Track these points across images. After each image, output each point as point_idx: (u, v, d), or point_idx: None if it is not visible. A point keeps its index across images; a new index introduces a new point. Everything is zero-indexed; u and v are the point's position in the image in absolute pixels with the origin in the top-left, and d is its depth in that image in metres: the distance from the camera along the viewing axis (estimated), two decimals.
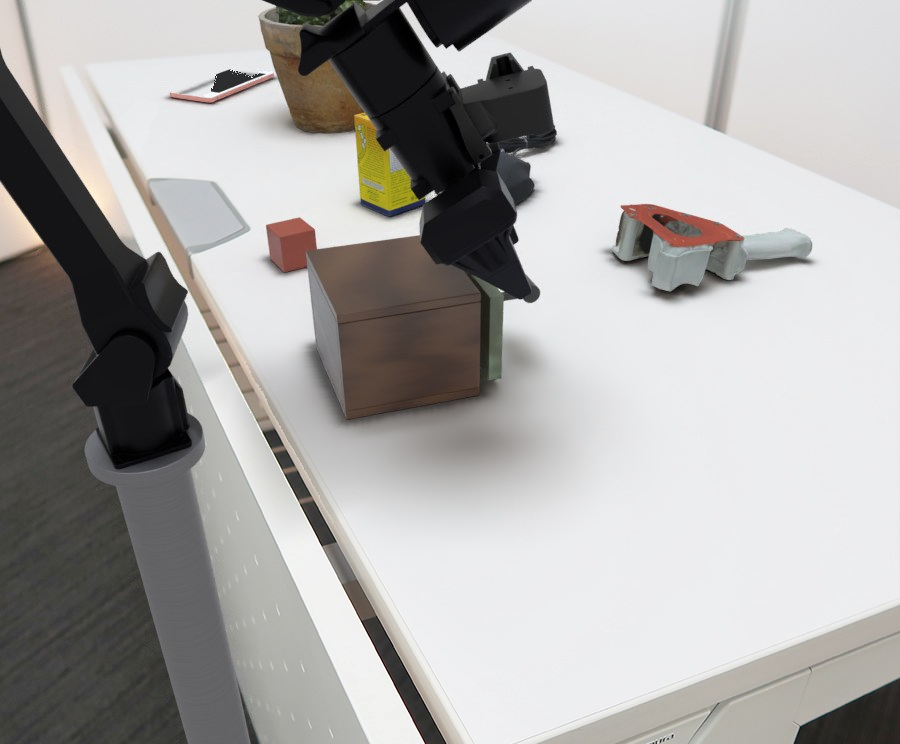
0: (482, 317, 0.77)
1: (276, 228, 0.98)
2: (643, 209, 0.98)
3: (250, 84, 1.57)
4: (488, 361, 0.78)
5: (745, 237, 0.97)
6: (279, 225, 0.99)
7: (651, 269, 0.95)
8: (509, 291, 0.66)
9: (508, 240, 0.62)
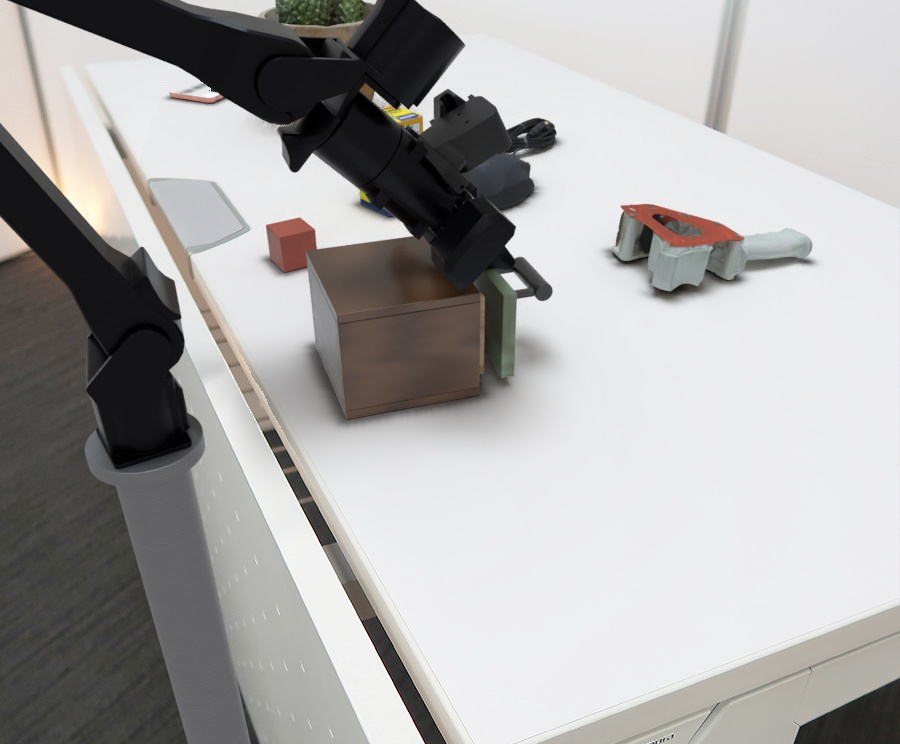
0: (495, 315, 0.77)
1: (276, 228, 0.98)
2: (643, 209, 0.98)
3: None
4: (501, 359, 0.78)
5: (745, 237, 0.97)
6: (279, 225, 0.99)
7: (651, 269, 0.95)
8: (498, 266, 0.79)
9: None
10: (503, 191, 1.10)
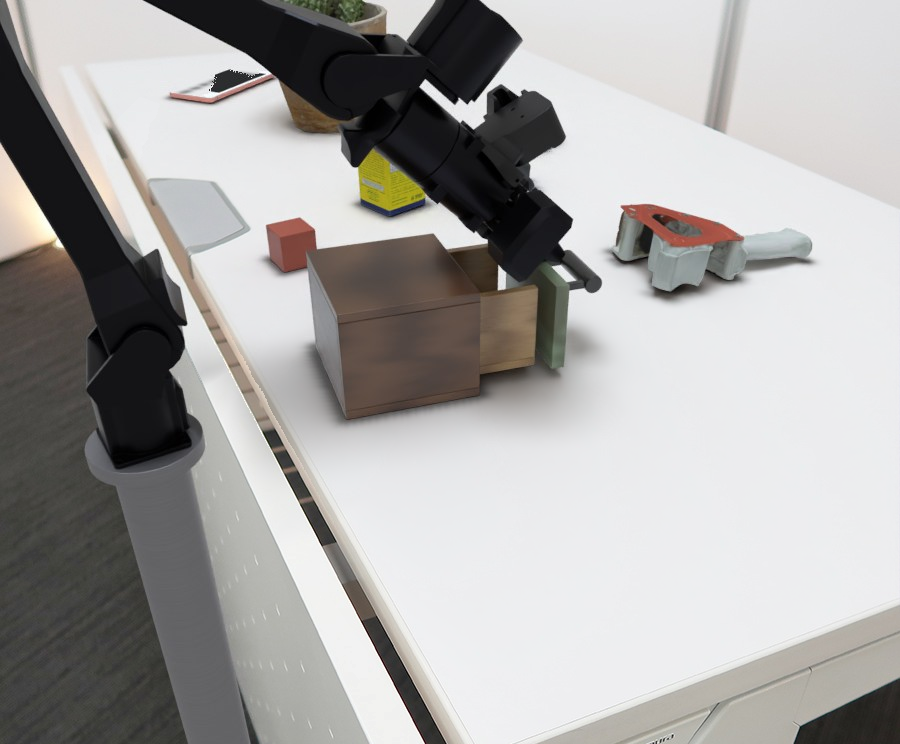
0: (546, 307, 0.79)
1: (276, 228, 0.98)
2: (643, 209, 0.98)
3: (250, 84, 1.57)
4: (552, 350, 0.79)
5: (745, 237, 0.97)
6: (279, 225, 0.99)
7: (651, 269, 0.95)
8: (549, 259, 0.80)
9: None
10: None
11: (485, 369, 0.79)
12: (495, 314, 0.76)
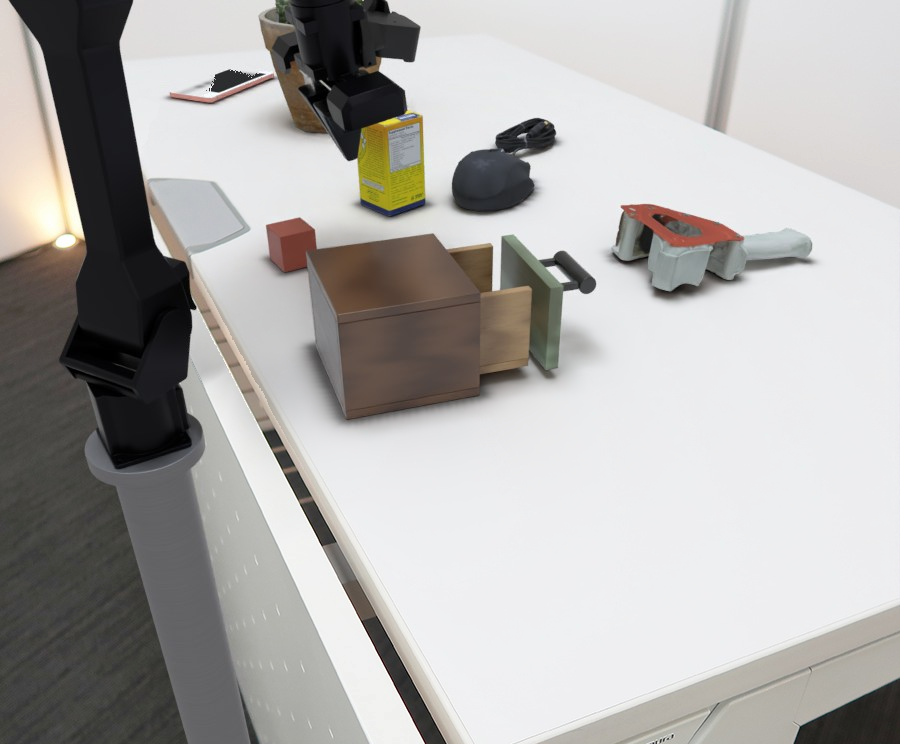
0: (540, 308, 0.78)
1: (276, 228, 0.98)
2: (643, 209, 0.98)
3: (250, 84, 1.57)
4: (546, 351, 0.79)
5: (745, 237, 0.97)
6: (279, 225, 0.99)
7: (651, 269, 0.95)
8: (345, 152, 0.91)
9: None
10: (503, 191, 1.10)
11: None
12: (489, 315, 0.76)
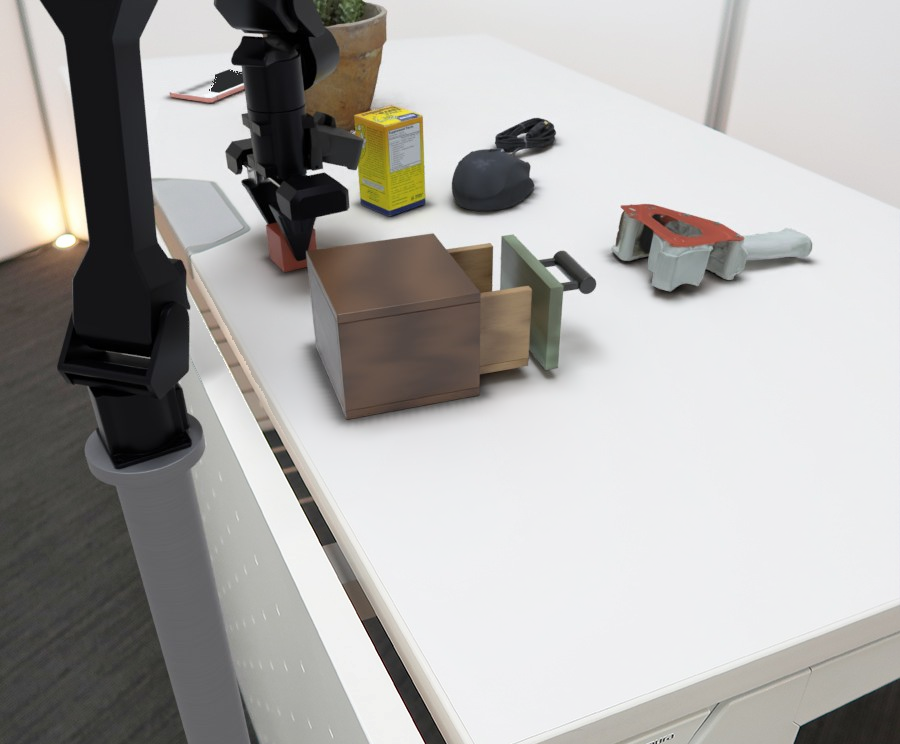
0: (540, 308, 0.78)
1: (276, 228, 0.98)
2: (643, 209, 0.98)
3: None
4: (546, 351, 0.79)
5: (745, 237, 0.97)
6: None
7: (651, 269, 0.95)
8: (295, 252, 0.97)
9: None
10: (503, 191, 1.10)
11: None
12: (489, 315, 0.76)
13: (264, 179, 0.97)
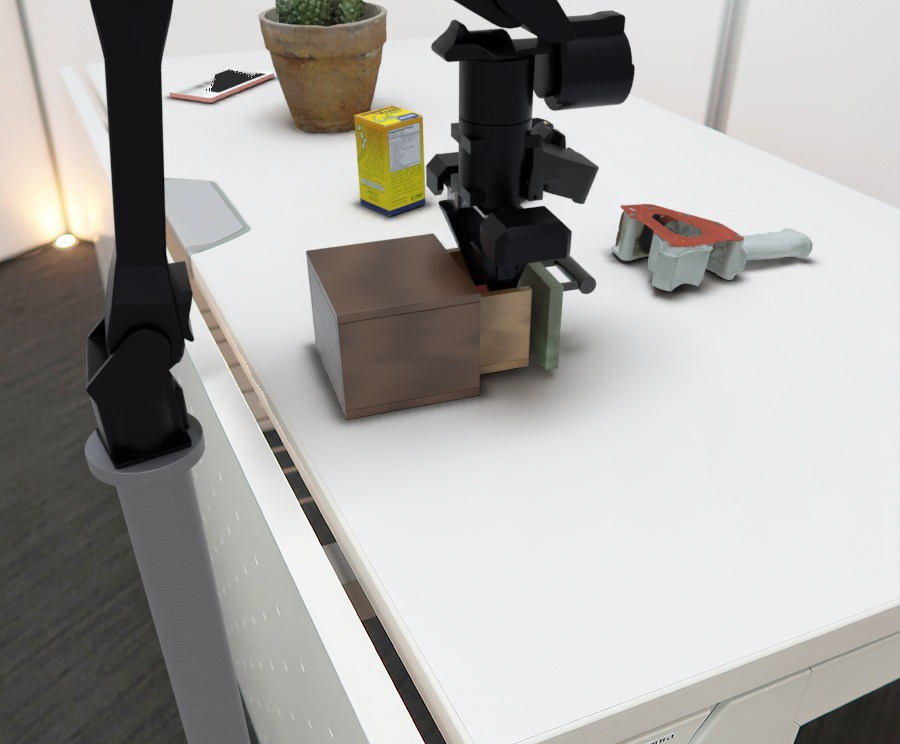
0: (540, 308, 0.78)
1: None
2: (643, 209, 0.98)
3: (250, 84, 1.57)
4: (546, 351, 0.79)
5: (745, 237, 0.97)
6: (479, 290, 0.81)
7: (651, 269, 0.95)
8: None
9: None
10: None
11: None
12: (489, 315, 0.76)
13: (466, 203, 0.79)
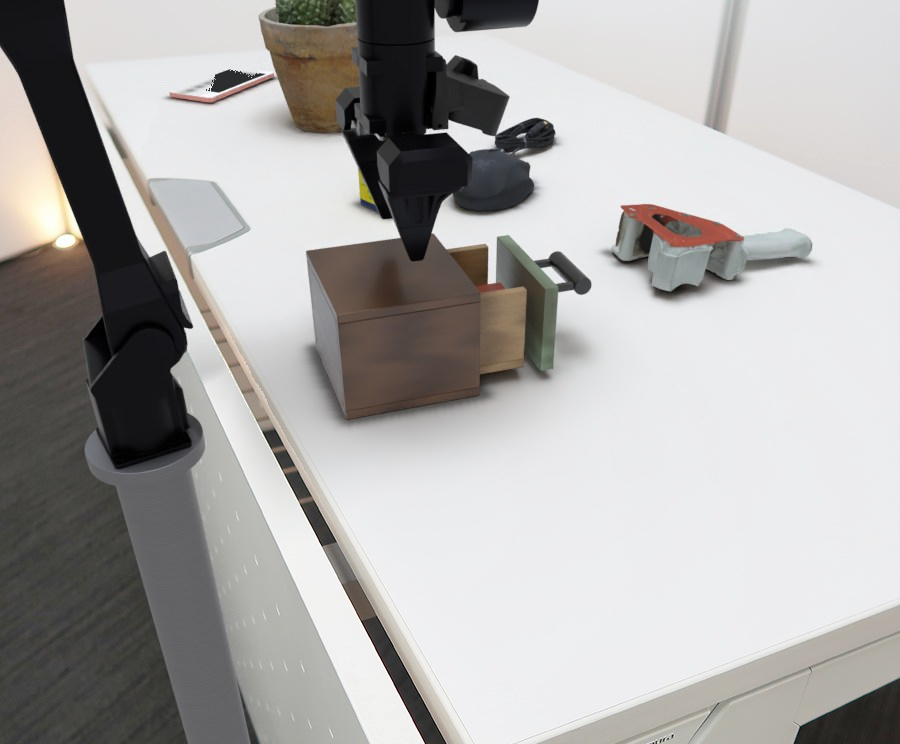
0: (535, 309, 0.78)
1: None
2: (643, 209, 0.98)
3: (250, 84, 1.57)
4: (541, 352, 0.79)
5: (745, 237, 0.97)
6: None
7: (651, 269, 0.95)
8: (409, 249, 0.72)
9: (440, 204, 0.69)
10: (503, 191, 1.10)
11: None
12: (484, 316, 0.76)
13: None
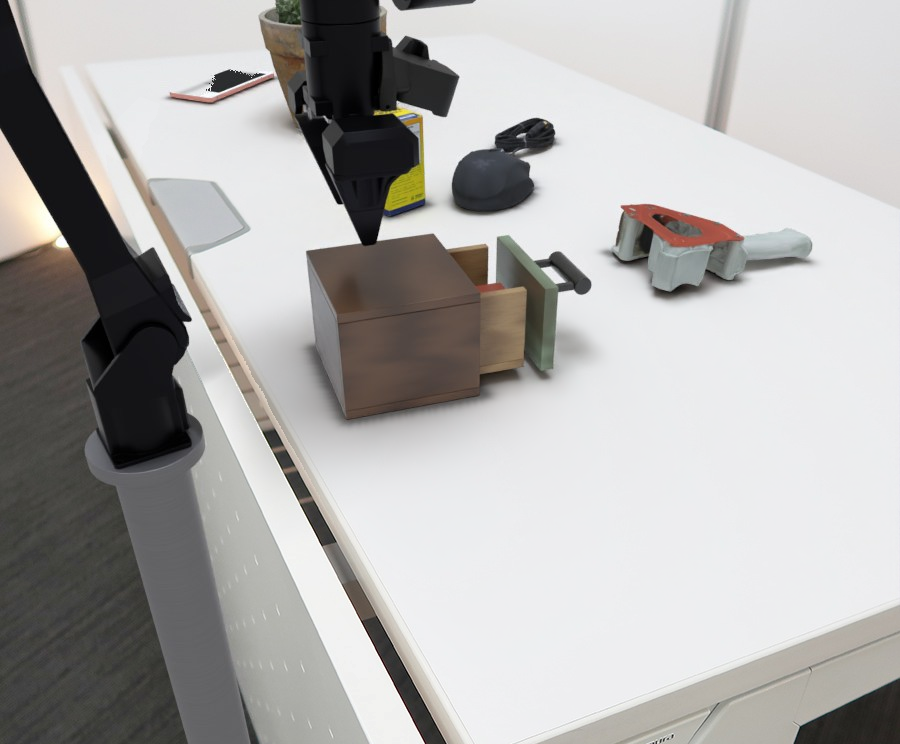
0: (535, 309, 0.78)
1: None
2: (643, 209, 0.98)
3: (250, 84, 1.57)
4: (541, 352, 0.79)
5: (745, 237, 0.97)
6: None
7: (651, 269, 0.95)
8: (360, 233, 0.71)
9: (389, 186, 0.68)
10: (503, 191, 1.10)
11: None
12: (484, 316, 0.76)
13: None
